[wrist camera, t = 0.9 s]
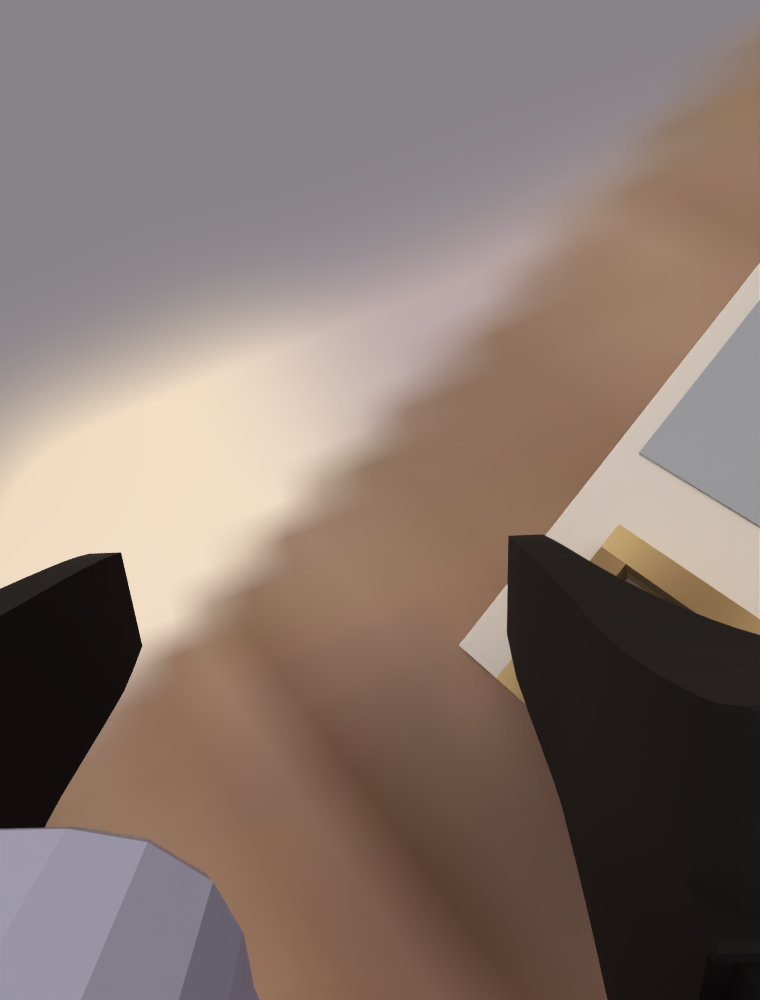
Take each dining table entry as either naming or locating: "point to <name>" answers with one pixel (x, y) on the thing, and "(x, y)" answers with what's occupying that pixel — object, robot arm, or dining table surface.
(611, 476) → the board
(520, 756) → the dining table surface
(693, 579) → the collar
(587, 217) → the dining table surface
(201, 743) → the dining table surface
